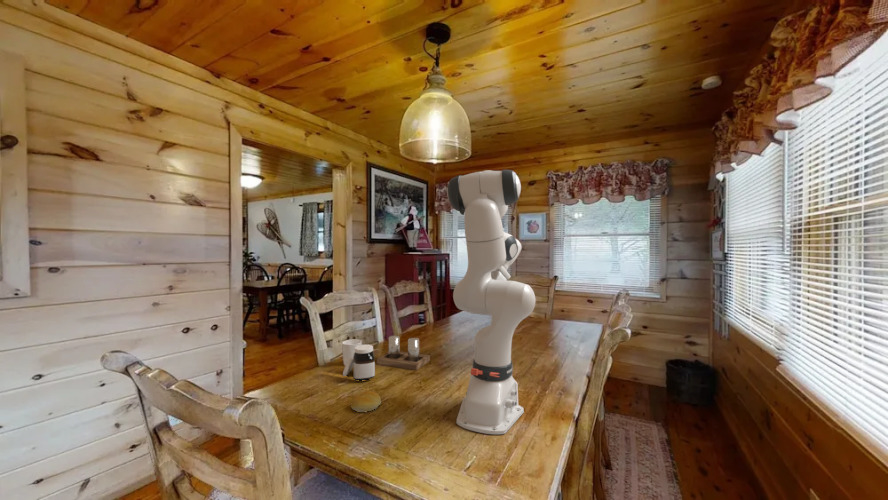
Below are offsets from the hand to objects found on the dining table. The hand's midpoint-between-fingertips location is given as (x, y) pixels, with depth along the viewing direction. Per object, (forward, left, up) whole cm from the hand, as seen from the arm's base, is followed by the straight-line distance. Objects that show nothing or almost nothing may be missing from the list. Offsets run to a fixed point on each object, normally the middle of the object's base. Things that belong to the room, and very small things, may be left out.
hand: (473, 295), depth 136 cm
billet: (-9, +23, -28) cm, 37 cm away
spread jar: (-27, +37, -30) cm, 54 cm away
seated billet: (-9, +32, -28) cm, 43 cm away
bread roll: (-44, +21, -30) cm, 57 cm away
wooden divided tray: (-9, +28, -29) cm, 41 cm away
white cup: (-18, +47, -30) cm, 58 cm away
